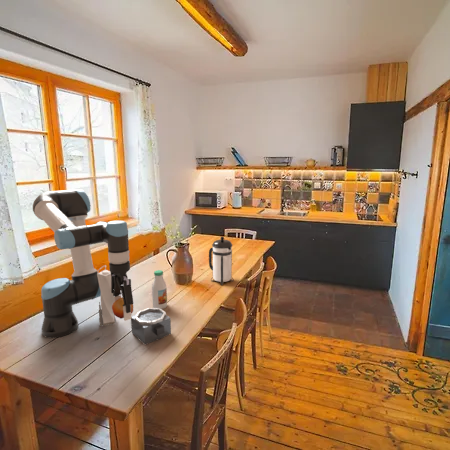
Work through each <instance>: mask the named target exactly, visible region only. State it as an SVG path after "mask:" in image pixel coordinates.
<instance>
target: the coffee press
mask: <svg viewBox="0 0 450 450" xmlns="http://www.w3.org/2000/svg"><path fill="white" fill-rule="evenodd" d="M211 245H212V247H210V248H209V251H208V266H209V269H210V270H211V271H212V277H211V279H210V281H211V282H214V281H216V282H218V283H219V282H220V286H224V282H226V283H227V282H229V281H231V282H234V278H233V277H232V270H233V261H232V260H233V249H232V248H233V244H232V242H231V240H228V239H225V237H224V236H220V239H217V240H214V241H213V243H212V244H211Z"/></svg>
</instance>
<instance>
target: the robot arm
mask: <svg viewBox="0 0 450 450" xmlns="http://www.w3.org/2000/svg"><path fill="white" fill-rule="evenodd" d="M91 207H92V206H91V201H90V199H89V196H88V194H87V193H86V191H84V190H83V189H64V190H63V189H62V190H51V191H45V192H43V193H40V194H39V195H38V196H37V197H35V199H34V200H33V204H32V212H33V214H34V215H35V216H36V217H37V218H38V219H39V220H41V221H44V223H45V224H46V225H47V226H48V228H50V230H51V231H52V232H53V233H54V235H53V238H54V239H53V240H54V242H55V245H56V248H57V249H59V250H70V253H71V255H70V256H71V261H72V265H73V266H72V267H73V270H74V271H73V273H72V274H71V280H70V279H69V278H67V277H60V278H55V279H52V280H49V281H47V282H46V283H45V284H44V285H42V287H41V291H40V292H41V301H42V309H43V321H42V324H41V325H42V326H41V334H43V335H44V337H45V336H46V337H45V338H48V337H51V338H52V339H54V338H55V337H56V338H61V337H65V336H67V335H69V334H70V335H71V334H72V333H73V332H75V331H76V330H77V329H78V327H79V320H78V318H77V316H76V315H75V313H74V311H73V306H74V305H78V304H81V303H84V302H87V301H90V300H95V299H97V298H101V291H100V286H99V282H98V276H97V272H98V269H96V268H95V267H94V264H93V258H92V253H91V247H90V245H94V244H95V245H96V244H101V243H106V244H107V253H108V254H107V255H108V256H107V257H108V262H109V263H108V264H109V265H108V266H109V271H110V272H111V293H113V296H114V302H115V301H116V300H118V299H120V298H123V301H124V304H123V311H124V318H123V320H124V321H125V322H126V321H128V320H131V319H132V318H131V316H132V313H131V304H133V305H134V298H133V297H134V296H133V290H132V279H131V278H128V275H127V272H129V271H130V270H131V262H130V252H131V251H130V247H129V245H130V244H129V229H128V224H127V222H126V221H125V220H120V219H119V220H111V221H98V222H96V223H95V224H89V225H87V224H86V219H87V217H88V216H89V215H88V213H90V212H91ZM43 335H42V336H43ZM53 337H54V338H53ZM51 338H50V339H51ZM56 338H55V339H56Z"/></svg>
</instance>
